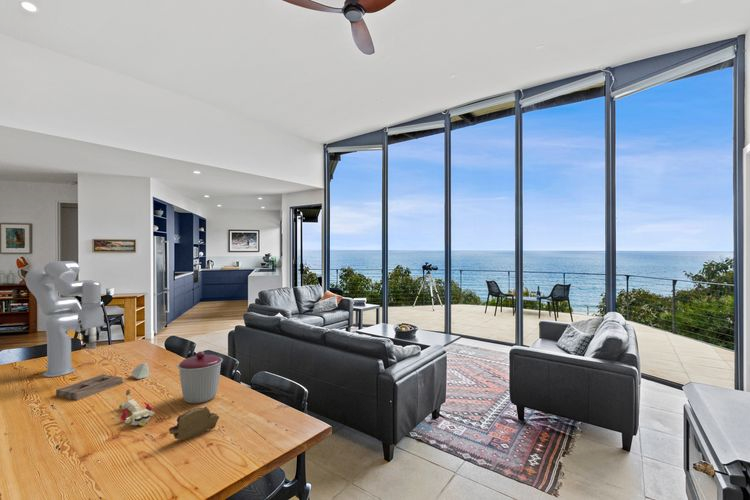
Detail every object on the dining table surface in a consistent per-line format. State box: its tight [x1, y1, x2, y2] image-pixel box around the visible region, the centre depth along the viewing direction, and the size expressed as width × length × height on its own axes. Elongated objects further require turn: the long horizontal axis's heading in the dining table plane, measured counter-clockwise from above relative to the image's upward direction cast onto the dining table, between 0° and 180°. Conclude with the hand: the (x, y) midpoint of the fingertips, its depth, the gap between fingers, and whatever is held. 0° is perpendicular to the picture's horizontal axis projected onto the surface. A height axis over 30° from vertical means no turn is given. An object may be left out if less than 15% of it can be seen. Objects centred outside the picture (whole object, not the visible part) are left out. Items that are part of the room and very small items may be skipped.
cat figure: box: [118, 389, 155, 427], centre depth 137 cm, size 10×9×25 cm
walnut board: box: [55, 374, 123, 401], centre depth 162 cm, size 14×20×3 cm
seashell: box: [131, 362, 150, 380], centre depth 179 cm, size 8×8×8 cm
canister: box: [176, 351, 224, 404], centre depth 153 cm, size 18×18×21 cm
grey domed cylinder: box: [85, 327, 97, 350], centre depth 174 cm, size 4×4×12 cm
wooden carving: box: [168, 406, 220, 440], centre depth 122 cm, size 16×5×10 cm, turn 141°
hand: (91, 341), depth 174 cm, fingers closed on grey domed cylinder, 4 cm apart
